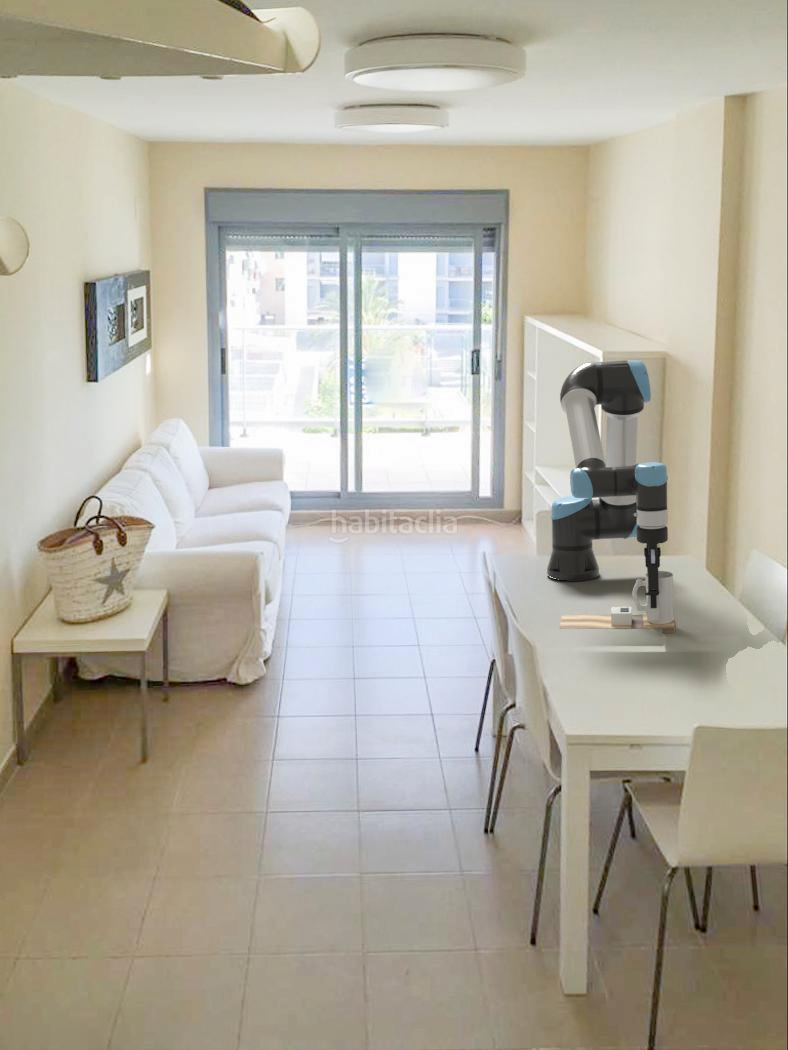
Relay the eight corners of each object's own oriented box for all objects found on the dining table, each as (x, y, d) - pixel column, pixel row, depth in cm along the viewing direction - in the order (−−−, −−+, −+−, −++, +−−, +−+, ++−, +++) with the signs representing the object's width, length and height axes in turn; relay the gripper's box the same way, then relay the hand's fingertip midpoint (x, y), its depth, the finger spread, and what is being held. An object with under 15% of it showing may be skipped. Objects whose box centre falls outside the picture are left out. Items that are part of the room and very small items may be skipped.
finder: (611, 618, 317) (611, 606, 317) (631, 618, 316) (631, 606, 316) (611, 625, 311) (610, 613, 311) (631, 625, 310) (631, 612, 310)
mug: (672, 616, 315) (671, 570, 313) (675, 624, 309) (674, 577, 306) (631, 617, 317) (630, 571, 314) (634, 625, 310) (633, 579, 307)
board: (562, 619, 323) (561, 615, 323) (673, 619, 318) (673, 614, 317) (559, 633, 311) (559, 628, 311) (674, 632, 306) (674, 628, 306)
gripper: (636, 517, 318) (637, 605, 322) (636, 534, 299) (638, 627, 304) (666, 517, 316) (667, 605, 321) (668, 534, 298) (670, 627, 302)
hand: (653, 615), depth 312 cm, fingers closed on mug, 7 cm apart
